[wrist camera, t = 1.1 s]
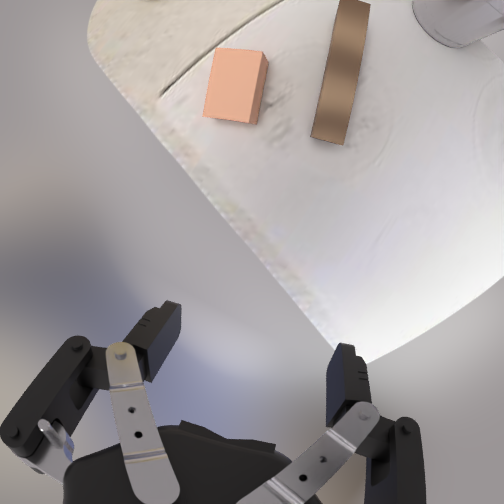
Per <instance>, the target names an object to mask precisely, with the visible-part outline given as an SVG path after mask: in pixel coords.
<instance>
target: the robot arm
mask: <svg viewBox="0 0 504 504" xmlns="http://www.w3.org/2000/svg"><path fill="white" fill-rule="evenodd" d="M413 10H414V13H415V16H416V18H417V20H418V22H419V23H420V25H421V26H422V27H423V28H424V30H425V31H426V32H427V33H428V34H429V35H430V36H432V37H433V38H434V39H435V40H437V41H439V42H440V43H442V44H444V45H446V46H449V47H453V48H460V47H464V46H466V45H468V44H471V43H473V42H475V41H478V40H480V39H482V38H485V37H487V36H489V35H492V34H494V33H496V32H499V31H501V30H504V0H413ZM180 330H181V304H177V303H174V302H171V301H165V303H164V304H163V305H162V306H161V308H157V307H154V308H152V309H150V310H148V311H147V312H146V313H145V314H144V315H143V317H142V319H140V320H139V322H138V323H137V324H136V325H135V326H134V328H133V329H132V330H131V331H130V333H129V334H128V335H127V336H126V338H125V339H124V340H123V341H122V342H116V343H113V344H111V345H110V346H109V347H108V348H102V347H95V346H91V344H90V341H89V340H88V339H87V338H86V337H83V336H73V337H70V338H69V339H67V340H66V341H65V342H64V344H63V345H62V346H61V347H60V348H59V350H58V351H57V352H56V353H55V354H54V356H53V357H52V358H51V359H50V360H49V362H48V363H47V364H46V365H45V367H44V368H43V369H42V370H41V372H40V373H39V374H38V375H37V377H36V378H35V379H34V381H33V382H32V383H31V385H30V386H29V387H28V388H27V390H26V391H25V392H24V394H23V395H22V396H21V398H20V399H19V400H18V402H17V403H16V404H15V406H14V407H13V409H12V410H11V411H10V413H9V414H8V416H7V417H6V418H5V420H4V421H3V423H2V424H1V427H0V437H1V439H2V441H3V442H4V443H5V444H6V445H7V446H8V447H9V448H10V449H11V450H12V452H13V453H14V454H15V455H16V456H17V457H18V458H19V459H20V460H22V461H23V462H24V463H25V464H26V465H28V466H29V467H31V468H32V469H33V470H34V471H36V472H38V473H40V474H46V475H48V476H49V477H51V478H52V479H54V480H55V481H57V482H59V483H60V484H62V485H63V489H64V499H63V504H322V503H321V501H320V500H319V498H318V497H317V495H316V494H315V493H316V492H317V491H318V490H319V489H320V488H321V487H322V486H323V485H324V484H325V483H326V482H327V481H328V480H329V479H330V478H331V477H332V476H333V475H334V474H335V473H336V472H337V471H338V470H339V469H340V468H341V467H342V466H343V464H344V463H345V462H346V461H347V460H348V459H349V458H350V457H351V456H352V454H353V453H357V454H359V455H362V456H365V457H366V484H365V499H364V504H426V484H425V471H424V459H423V450H422V442H421V434H420V428H419V425H418V424H417V422H416V421H415V420H413V419H412V418H409V417H401V418H399V419H398V420H397V421H396V422H395V421H392V420H390V419H387V418H384V417H382V416H380V414H379V411H378V409H377V408H376V407H375V406H374V405H373V404H372V401H371V393H370V386H369V381H368V374H367V366H366V363H365V362H364V360H363V359H362V357H360V356H356V353H355V347H354V345H350V344H344V343H339V344H338V346H337V348H336V350H335V352H334V354H333V356H332V358H331V361H330V362H329V365H328V368H327V373H326V387H327V388H326V427H331V428H332V429H330V430H328V431H327V432H326V433H324V435H322V436H321V437H320V438H319V439H318V440H317V441H316V442H315V443H314V444H313V445H312V446H310V447H309V448H308V449H307V450H306V451H305V452H304V453H302V454H301V455H300V456H299V457H298V458H297V459H296V460H294V461H293V462H292V461H291V460H290V459H289V458H288V457H286V456H285V455H284V454H282V453H280V452H278V451H276V450H275V446H276V444H272V443H266V442H262V441H257V440H243V439H226V438H224V437H222V436H220V435H218V434H216V433H214V432H212V431H210V430H208V429H206V428H205V427H202V426H199V425H196V424H192V423H189V422H186V421H183V420H181V423H180V425H179V426H178V425H167V426H160V427H157V426H156V423H155V420H154V417H153V414H152V411H151V407H150V404H149V401H148V397H147V394H146V390H145V386H144V383H143V382H144V380H146V381H148V382H151V383H152V381H153V379H154V377H155V376H156V374H157V373H158V371H159V369H160V367H161V366H162V364H163V362H164V360H165V359H166V357H167V355H168V354H169V352H170V351H171V349H172V347H173V346H174V344H175V342H176V340H177V339H178V337H179V334H180ZM99 389H103V390H109V391H110V397H111V403H112V408H113V413H114V418H115V422H116V427H117V432H118V436H119V440H120V443H118V444H116V445H113V446H111V447H108V448H106V449H103V450H101V451H98V452H95V453H92V454H90V455H87V456H84V457H81V458H79V459H76V460H75V461H73V460H72V454H73V451H74V443H73V441H72V439H71V438H70V437H71V435H72V434H73V432H74V430H75V428H76V427H77V425H78V423H79V421H80V420H81V418H82V416H83V415H84V413H85V411H86V410H87V408H88V406H89V405H90V403H91V401H92V400H93V398H94V396H95V395H96V393H97V392H98V390H99Z"/></svg>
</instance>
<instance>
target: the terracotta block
mask: <svg viewBox="0 0 504 504" xmlns="http://www.w3.org/2000/svg"><path fill="white" fill-rule="evenodd" d="M267 68H268V61H267V59H266V57H265V55H264V53H263V52H261V51H252V50H242V49H230V48H216V49H215V53H214V58H213V63H212V68H211V73H210V78H209V83H208V88H207V94H206V99H205V105H204V111H203V117H210V118H217V119H225V120H232V121H239V122H245V123H251V124H257V119H258V114H259V109H260V103H261V98H262V93H263V88H264V83H265V78H266V73H267Z"/></svg>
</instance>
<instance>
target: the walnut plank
mask: <svg viewBox="0 0 504 504" xmlns="http://www.w3.org/2000/svg"><path fill="white" fill-rule="evenodd" d="M369 12H370V4H368V3H365V2H362V1H358V0H340V1H339V5H338V9H337V14H336V18H335V22H334V28H333V33H332V38H331V43H330V48H329V53H328V58H327V63H326V68H325V72H324V77H323V82H322V87H321V91H320V96H319V100H318V105H317V110H316V114H315V118H314V123H313V127H312V132H311V136H310V137H313V138H317V139H321V140H324V141H328V142H332V143H335V144H339V145H343V144H344V140H345V136H346V131H347V127H348V123H349V119H350V114H351V110H352V105H353V100H354V96H355V91H356V86H357V81H358V76H359V71H360V66H361V60H362V55H363V49H364V43H365V37H366V31H367V25H368V18H369Z"/></svg>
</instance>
